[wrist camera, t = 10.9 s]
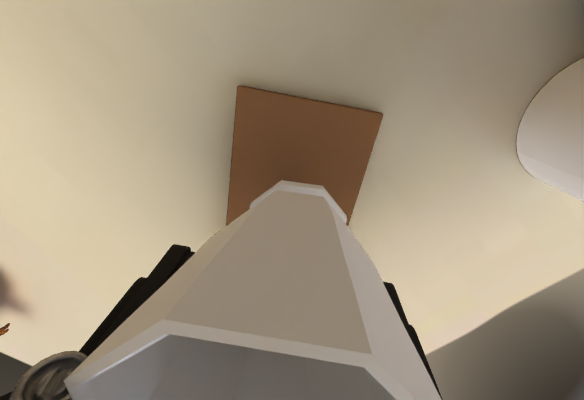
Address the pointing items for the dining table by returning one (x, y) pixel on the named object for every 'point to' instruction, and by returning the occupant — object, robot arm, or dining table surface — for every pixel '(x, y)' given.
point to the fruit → (2, 330)
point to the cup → (265, 318)
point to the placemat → (297, 147)
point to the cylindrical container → (556, 132)
